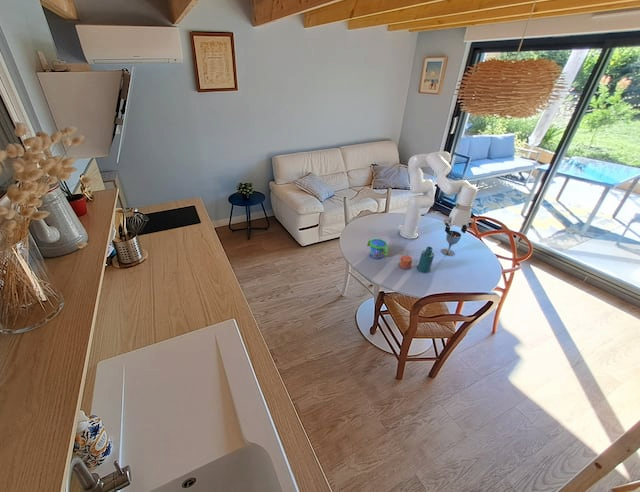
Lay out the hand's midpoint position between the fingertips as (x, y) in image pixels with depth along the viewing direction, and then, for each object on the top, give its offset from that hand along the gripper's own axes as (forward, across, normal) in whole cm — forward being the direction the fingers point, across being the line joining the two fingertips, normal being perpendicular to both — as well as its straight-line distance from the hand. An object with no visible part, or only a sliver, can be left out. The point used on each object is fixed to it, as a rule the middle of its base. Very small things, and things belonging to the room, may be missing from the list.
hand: (454, 232), depth 169 cm
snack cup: (+25, +40, -11) cm, 48 cm away
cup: (+24, +25, 0) cm, 35 cm away
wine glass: (+25, -10, -13) cm, 30 cm away
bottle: (+24, +15, +4) cm, 29 cm away
